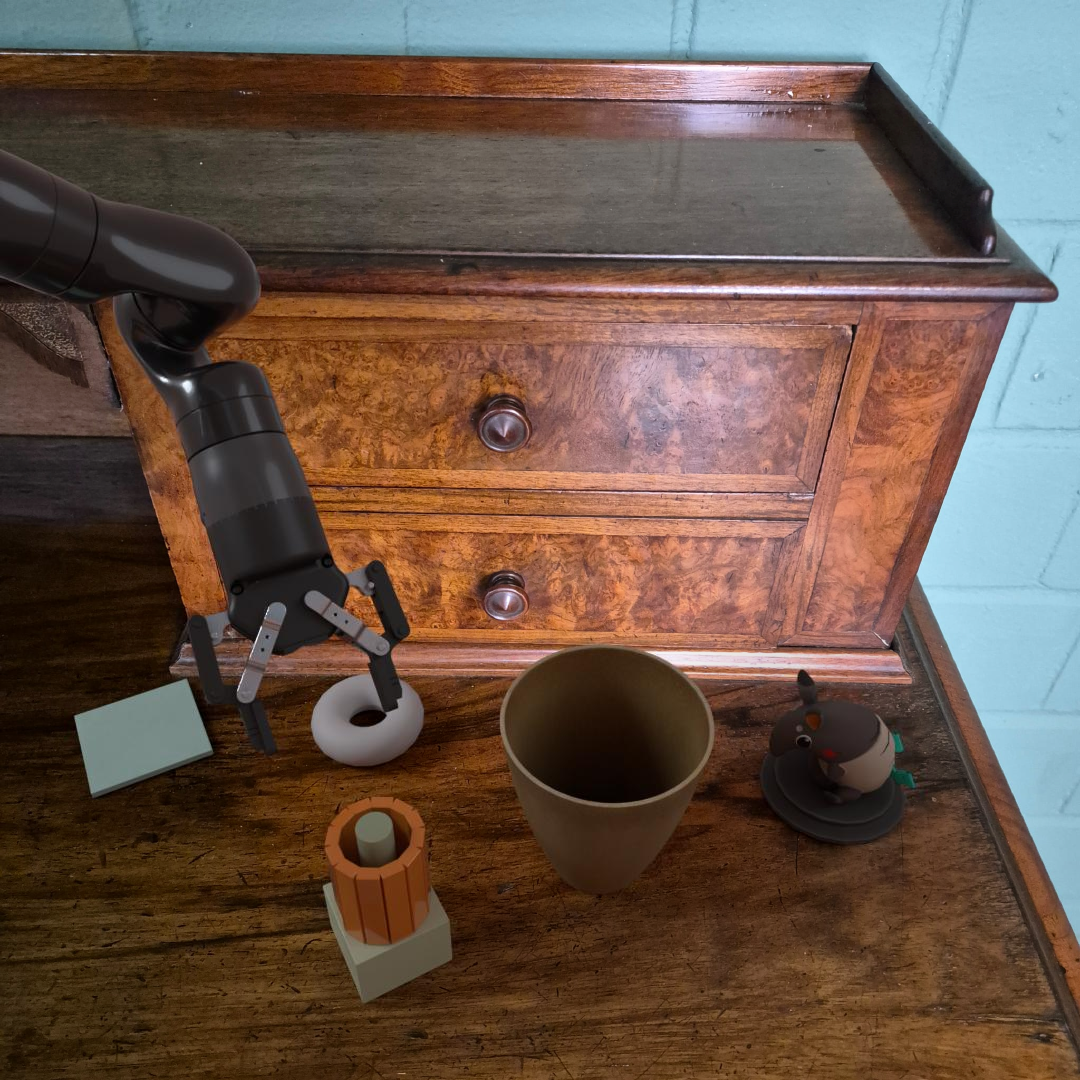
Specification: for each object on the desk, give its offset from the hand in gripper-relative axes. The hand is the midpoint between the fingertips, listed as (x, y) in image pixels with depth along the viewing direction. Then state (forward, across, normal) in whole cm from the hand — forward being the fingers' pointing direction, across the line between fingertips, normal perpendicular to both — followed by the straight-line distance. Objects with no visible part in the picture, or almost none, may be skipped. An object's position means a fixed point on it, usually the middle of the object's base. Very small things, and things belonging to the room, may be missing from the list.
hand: (333, 732), depth 65 cm
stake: (+16, 0, +6) cm, 17 cm away
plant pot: (+17, +17, +5) cm, 25 cm away
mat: (-4, -12, +26) cm, 29 cm away
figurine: (+20, +38, +2) cm, 43 cm away
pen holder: (+12, 0, +2) cm, 13 cm away
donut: (+2, +6, +20) cm, 21 cm away
